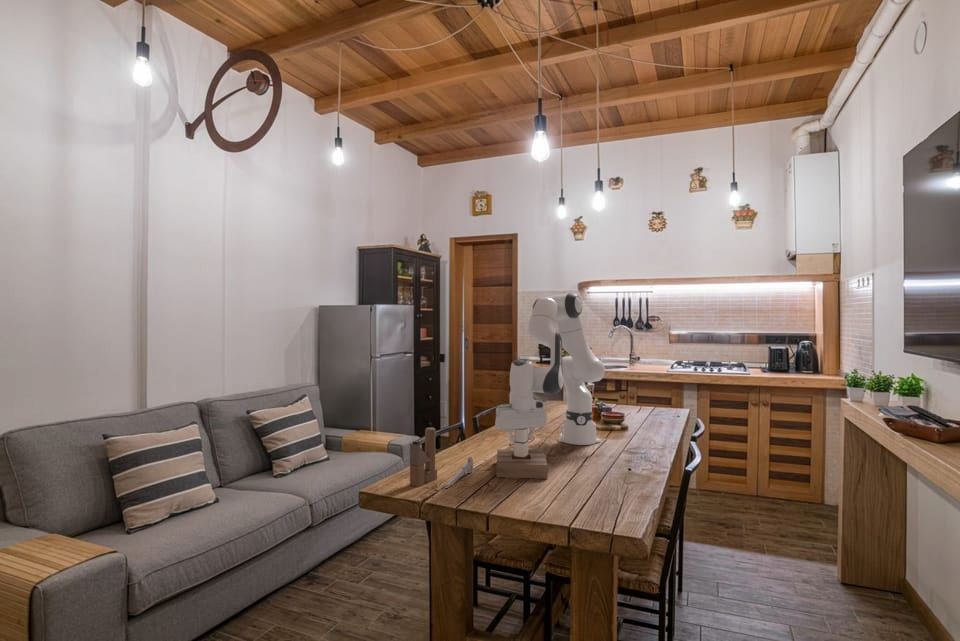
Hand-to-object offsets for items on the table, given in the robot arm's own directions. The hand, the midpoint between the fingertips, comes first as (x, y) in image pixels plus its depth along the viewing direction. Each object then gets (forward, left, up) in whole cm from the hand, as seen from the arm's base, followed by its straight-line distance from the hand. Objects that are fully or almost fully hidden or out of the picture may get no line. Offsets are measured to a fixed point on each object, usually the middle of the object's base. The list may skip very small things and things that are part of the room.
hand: (521, 440), depth 190 cm
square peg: (0, 0, -6) cm, 6 cm away
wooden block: (+16, -34, -11) cm, 39 cm away
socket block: (0, 0, -11) cm, 11 cm away
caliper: (+13, -22, -12) cm, 28 cm away
